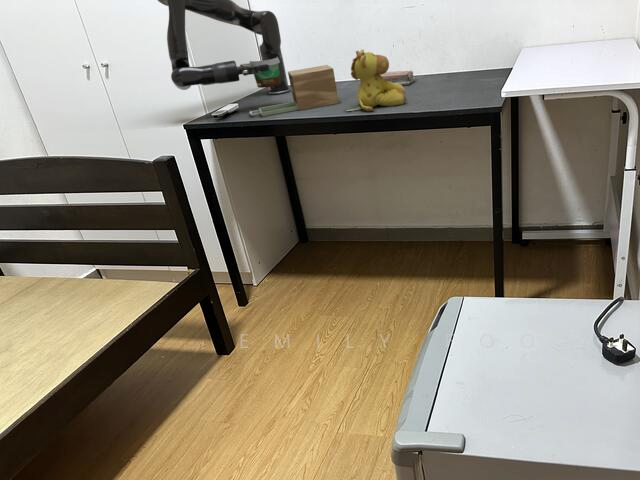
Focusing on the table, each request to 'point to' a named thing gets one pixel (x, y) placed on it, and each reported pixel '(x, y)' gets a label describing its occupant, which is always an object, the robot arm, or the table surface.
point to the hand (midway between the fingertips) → (267, 66)
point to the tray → (275, 108)
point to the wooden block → (313, 87)
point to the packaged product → (399, 77)
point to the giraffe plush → (375, 82)
